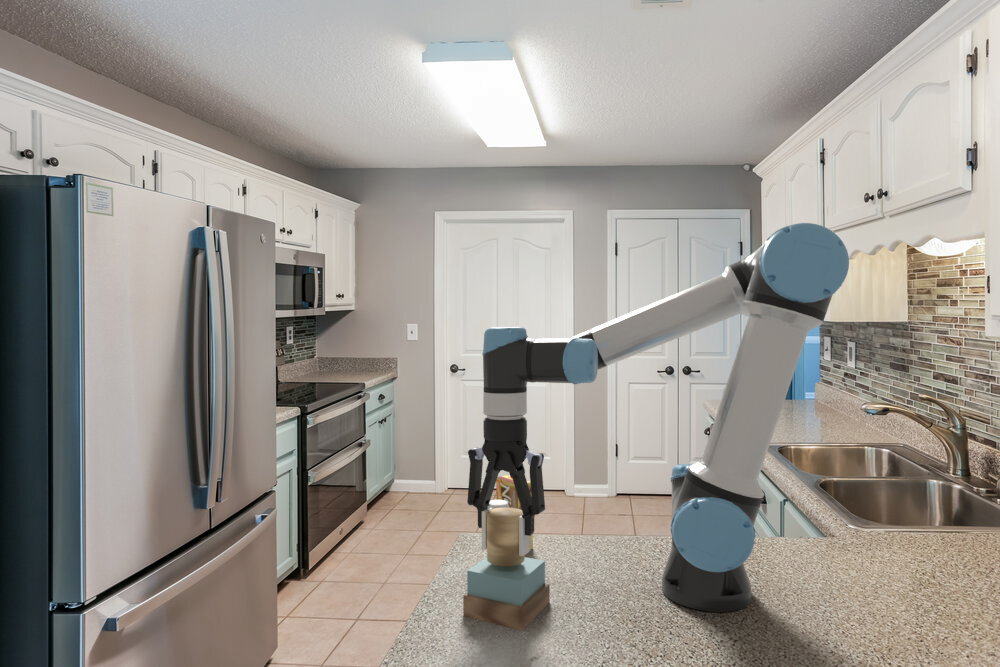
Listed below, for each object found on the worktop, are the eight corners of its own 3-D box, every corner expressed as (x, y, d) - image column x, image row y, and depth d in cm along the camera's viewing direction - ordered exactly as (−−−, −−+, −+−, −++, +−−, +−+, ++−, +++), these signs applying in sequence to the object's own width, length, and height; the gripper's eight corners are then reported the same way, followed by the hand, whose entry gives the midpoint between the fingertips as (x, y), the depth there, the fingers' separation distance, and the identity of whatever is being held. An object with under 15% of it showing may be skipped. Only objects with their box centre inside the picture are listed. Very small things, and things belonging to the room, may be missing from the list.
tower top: (544, 583, 108) (544, 560, 108) (521, 605, 99) (521, 581, 99) (494, 573, 113) (494, 551, 113) (467, 594, 104) (467, 570, 104)
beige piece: (530, 556, 107) (530, 510, 107) (514, 568, 102) (514, 520, 102) (498, 550, 110) (497, 505, 110) (480, 562, 105) (479, 515, 105)
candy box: (533, 552, 134) (533, 481, 134) (518, 556, 132) (517, 484, 132) (511, 540, 141) (510, 474, 141) (495, 544, 139) (495, 476, 139)
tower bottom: (549, 606, 108) (549, 583, 108) (521, 633, 98) (521, 608, 98) (494, 594, 113) (494, 572, 113) (463, 618, 104) (463, 595, 104)
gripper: (565, 417, 105) (566, 552, 105) (467, 410, 114) (468, 535, 114) (548, 422, 98) (549, 567, 98) (445, 415, 107) (446, 548, 107)
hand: (505, 549), depth 106 cm, fingers closed on beige piece, 6 cm apart
